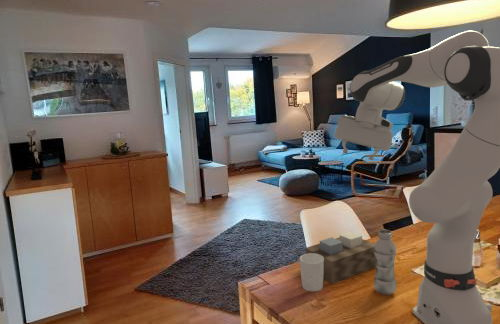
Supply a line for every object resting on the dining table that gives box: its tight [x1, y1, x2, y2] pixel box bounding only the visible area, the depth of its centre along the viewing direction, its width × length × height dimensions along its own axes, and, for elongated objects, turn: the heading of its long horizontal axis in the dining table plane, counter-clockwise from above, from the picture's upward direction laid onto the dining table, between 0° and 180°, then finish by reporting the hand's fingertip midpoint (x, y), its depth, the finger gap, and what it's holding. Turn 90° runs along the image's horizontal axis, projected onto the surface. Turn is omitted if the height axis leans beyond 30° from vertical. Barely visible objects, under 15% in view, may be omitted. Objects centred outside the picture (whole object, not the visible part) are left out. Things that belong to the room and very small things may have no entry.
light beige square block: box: [339, 231, 363, 249], centre depth 132 cm, size 6×6×4 cm
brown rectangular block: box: [305, 236, 376, 285], centre depth 131 cm, size 22×14×8 cm, turn 120°
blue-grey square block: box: [319, 237, 343, 255], centre depth 128 cm, size 6×6×4 cm
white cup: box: [299, 253, 324, 292], centre depth 119 cm, size 8×8×10 cm
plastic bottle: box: [373, 229, 397, 296], centre depth 112 cm, size 6×7×20 cm
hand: (357, 156), depth 131 cm, fingers open, 8 cm apart
